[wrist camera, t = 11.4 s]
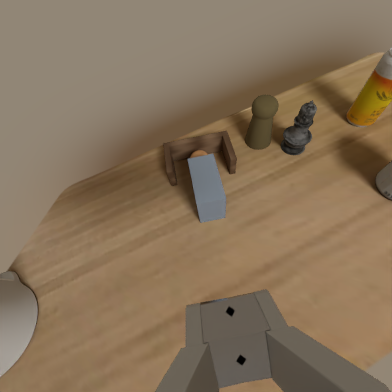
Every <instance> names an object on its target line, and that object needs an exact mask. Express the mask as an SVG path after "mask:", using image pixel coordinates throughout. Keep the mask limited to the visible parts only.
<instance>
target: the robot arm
mask: <svg viewBox="0 0 392 392" xmlns="http://www.w3.org/2000/svg"><path fill="white" fill-rule="evenodd" d="M37 315H38V307H37V301H36V298H35V296H34V294H33V292H32V291H31V290H30V289H29V288H28V287H26V286H25V285H23V284H22V283H21V282H20V280H19V278H18V275H17V274H16V273H15V272H12V271H7V272H4V273H2V274H0V377H1V376H2V375H3V374H4V373H5V372H6V371H7V370H8V369H9V368H10V367H12V365H13V364H14V363H15V362H16V361H17V360H18V359H19V357H20V356H21V355H22V353H23V352H24V350H25V349H26V347H27V345H28V343H29V341H30V339H31V337H32V335H33V332H34V329H35V326H36V322H37ZM268 378H272V379H273V380H274V381H275V383H276V384H277V385H278V386H279V387H280V388H281V389H282V390H283V391H284V392H391V391H390V390H389V389H388V387H387V386H386V385H385V384H384V383H382V382H380V381H379V380H377V379H376V378H374V377H373V376H371V375H369V374H368V373H366V372H365V371H363V370H362V369H360V368H358V367H357V366H355V365H354V364H352V363H351V362H349V361H347V360H346V359H344V358H343V357H341V356H339V355H338V354H336V353H335V352H333V351H332V350H330V349H328V348H327V347H325V346H324V345H322V344H321V343H319V342H317V341H316V340H314V339H313V338H311V337H310V336H308V335H306V334H305V333H303V332H302V331H300V330H299V329H297V328H295V327H294V326H291V327H288V325H287V323H286V321H285V320H284V318H283V316H282V314H281V313H280V311H279V309H278V307H277V305H276V304H275V302H274V300H273V298H272V297H271V295H270V293H269V291H268V290H266V289H265V290H261V291H256V292H253V293H248V294H243V295H238V296H234V297H229V298H224V299H218V300H212V301H206V302H201V303H197V304H191V305H187V306H186V347H185V348H181V349H180V351H179V353H178V354H177V356H176V358H175V359H174V361H173V363H172V364H171V366H170V368H169V369H168V371H167V373H166V374H165V376H164V378H163V379H162V381H161V383H160V384H159V386H158V388H157V389H156V391H155V392H219V388H222V387H227V386H231V385H235V384H239V383H244V382H249V381H255V380H262V379H268Z"/></svg>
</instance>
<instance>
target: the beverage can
mask: <svg viewBox="0 0 392 392" xmlns="http://www.w3.org/2000/svg"><path fill="white" fill-rule="evenodd" d="M375 182H376V185H377V188H378V190H379V191H380V192H381V193H382V194H383V195H384V196H385V197H386V198H388V199H390V200H392V161H391V162H390V163H389V164H388V165H386V166H385V167H384V168H383V169H382V170H381V171H380V172H379V173H378V174H377V176H376V181H375Z"/></svg>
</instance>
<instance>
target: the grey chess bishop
mask: <svg viewBox="0 0 392 392" xmlns="http://www.w3.org/2000/svg"><path fill="white" fill-rule="evenodd" d="M316 110H317V107H316V105H315V104H313V100H312V101H310V103H305V104H304V105H302V107H301V109H300V111H299V114H298V116H297V117H295V119H294V122H295V123H294V126H290V127H288V128H286V129H285V131H284V133H283V136H284V140H283V141H282V143H281V148H282V150H283V151H284V152H285V153H287V154H290V155H299V154H301V153H302V152H303V151H304V150H305V145H306V144H308V143H309V142H310V141H311V139H312V134H311V132H310V131H309V130H308V129H309V126H311V125H312V124H313V117H314V115H315V113H316Z"/></svg>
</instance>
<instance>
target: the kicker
mask: <svg viewBox="0 0 392 392" xmlns="http://www.w3.org/2000/svg"><path fill="white" fill-rule="evenodd" d="M188 164H189V169H190V174H191V179H192V184H193V189H194V194H195V199H196V204H197V209H198V213H199V218H200V223H202V222H207V221H212V220H217V219H222V218H225V212H226V196H225V193H224V189H223V186H222V182H221V179H220V175H219V172H218V168H217V165H216V161H215V158H214V154H209V155H204V156H199V157H194V158H189V159H188Z"/></svg>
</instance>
